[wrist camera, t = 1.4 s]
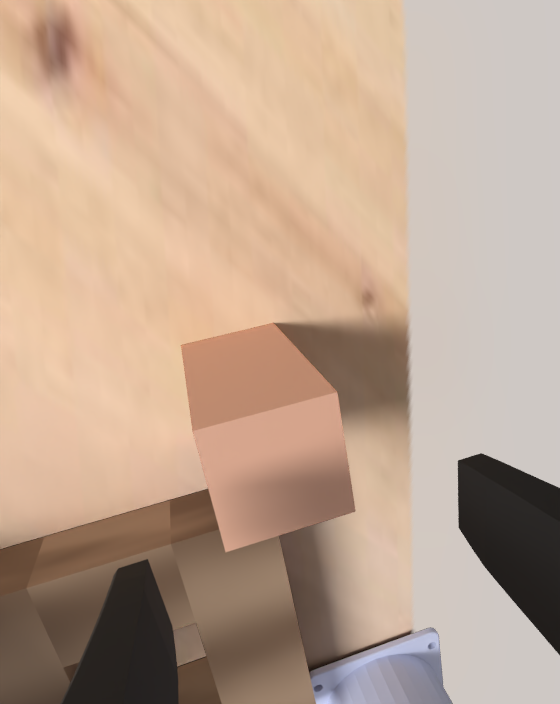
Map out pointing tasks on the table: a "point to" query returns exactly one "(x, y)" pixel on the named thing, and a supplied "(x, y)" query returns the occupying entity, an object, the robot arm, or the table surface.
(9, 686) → the walnut stand board
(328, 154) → the table surface
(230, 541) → the terracotta peg
